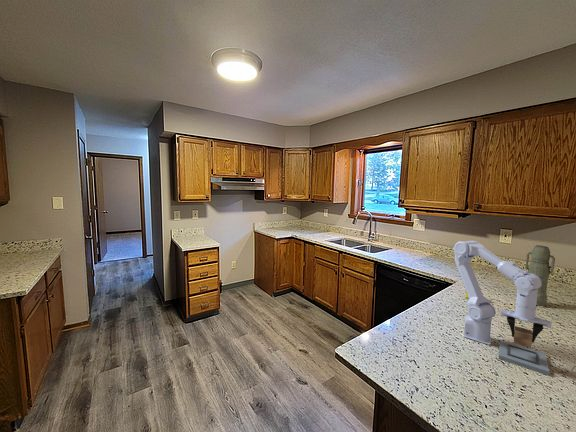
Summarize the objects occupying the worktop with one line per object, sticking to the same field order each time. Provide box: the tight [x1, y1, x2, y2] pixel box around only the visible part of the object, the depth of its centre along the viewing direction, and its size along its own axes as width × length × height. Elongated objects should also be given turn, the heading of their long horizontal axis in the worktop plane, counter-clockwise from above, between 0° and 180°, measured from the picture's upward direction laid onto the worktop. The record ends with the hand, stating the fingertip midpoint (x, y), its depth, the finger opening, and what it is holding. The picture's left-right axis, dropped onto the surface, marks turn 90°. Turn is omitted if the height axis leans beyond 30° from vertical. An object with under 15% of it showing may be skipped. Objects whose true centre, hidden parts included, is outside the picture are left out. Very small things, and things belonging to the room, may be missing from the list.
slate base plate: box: [498, 339, 550, 377], centre depth 101 cm, size 14×14×2 cm
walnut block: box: [513, 325, 533, 349], centre depth 100 cm, size 5×5×5 cm
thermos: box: [525, 244, 556, 307], centre depth 151 cm, size 9×12×35 cm
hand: (522, 338), depth 100 cm, fingers closed on walnut block, 5 cm apart
